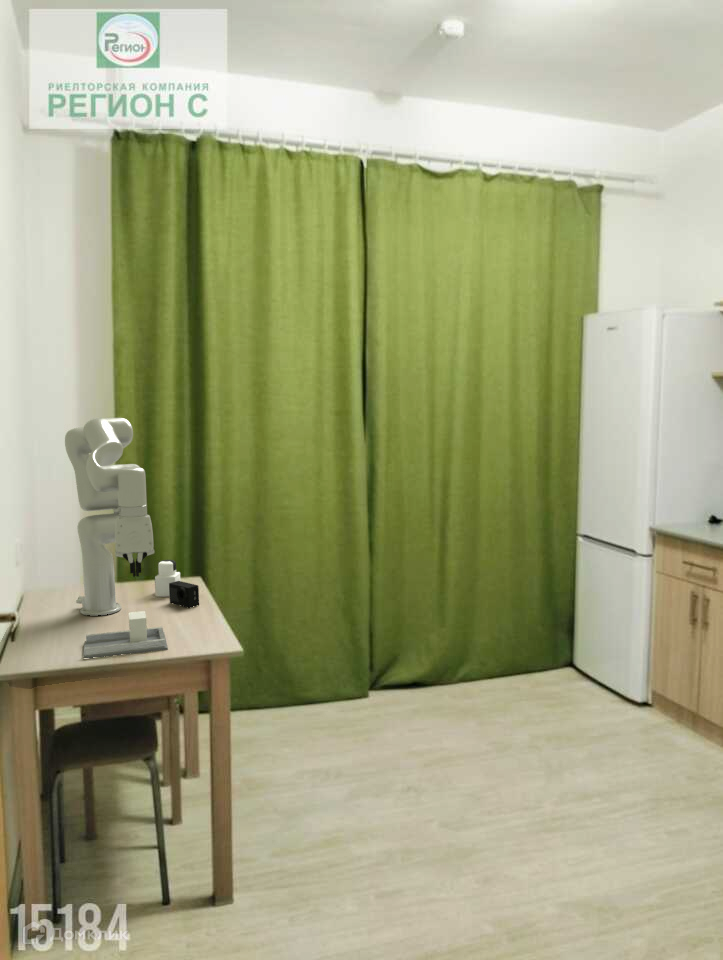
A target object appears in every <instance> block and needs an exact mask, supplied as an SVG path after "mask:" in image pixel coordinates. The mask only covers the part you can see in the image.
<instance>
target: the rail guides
mask: <svg viewBox="0 0 723 960" xmlns="http://www.w3.org/2000/svg"><path fill="white" fill-rule="evenodd" d="M164 634H165V632H164V628H163V626H157V627H147V636H155V635H159V639H156V640H147V641H139V642H130V643H121V644H112V645H103V646H94V647H85V656H90V655H99V654H108V653H116V652H125V651H134V650H142V649H151V648H160V647H166V645H165V638H166V635H165V636H164ZM127 638H130V631H129V630H120V631H119V630H118V631H111V632H109V631H108V632H102V633H100V632H99V633H91V634H85V641H86V643H91V642H100V641H109V640H118V639H127Z"/></svg>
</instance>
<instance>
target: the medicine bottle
mask: <svg viewBox="0 0 723 960" xmlns="http://www.w3.org/2000/svg"><path fill="white" fill-rule="evenodd" d="M157 565H158V566H157V568H158V574H157V575H155V577H154V590H155V597H157V598H158V597H159V598H160V597H161V598H162V597H163V598H165V597H166V598H167V597H169V598H170V594H169V583H172V582H176V581H181V572H180V571H177V562H176V561H175V560H173V559H164V560H160V561H159V562H158V564H157Z"/></svg>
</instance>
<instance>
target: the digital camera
mask: <svg viewBox="0 0 723 960" xmlns="http://www.w3.org/2000/svg"><path fill="white" fill-rule="evenodd" d="M199 589H200V588H199V585H198V584H194V583H191V582H190V583H189V582H187V581H183V580H182V581H181V580H180V581H176V582H172V583H169V594H170V597H169V603H170V604H172V603H173V604H172V605H176V606H179V605H181V606H180V607H183V606H184V608H187V607H188V608H187V609H191V608H194V607H193V606H195V607H198V606H200V595H199V593H200V592H199V591H200V590H199ZM197 605H198V606H197ZM190 607H191V608H190Z"/></svg>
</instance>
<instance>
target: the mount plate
mask: <svg viewBox="0 0 723 960" xmlns="http://www.w3.org/2000/svg"><path fill="white" fill-rule="evenodd" d="M164 636H165V645H166V647H160V648H151V649H142V650H134V651H125V652H116V653H108V654H99V655H90V656H85V647H94V646H103V645H112V644H121V643H130V638H127V639H118V640H109V641H100V642H91V643H86V640H84V643H83V644H84V646H83V656H82V659H83V658H92V659H94V658H93V657H100V658H107V657H106V656H109V657H114V656H113V655H117V656H122V655H121V654H126V655H134V654H133V653H135V654H142V653H150V652H151V651H152V652H159V651H168V648H169V647H168V643H167V639H166V634H165V633H164ZM156 639H159V635H155V636H147V640H156ZM152 652H151V653H152ZM130 653H131V654H130ZM104 656H105V657H104Z"/></svg>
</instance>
